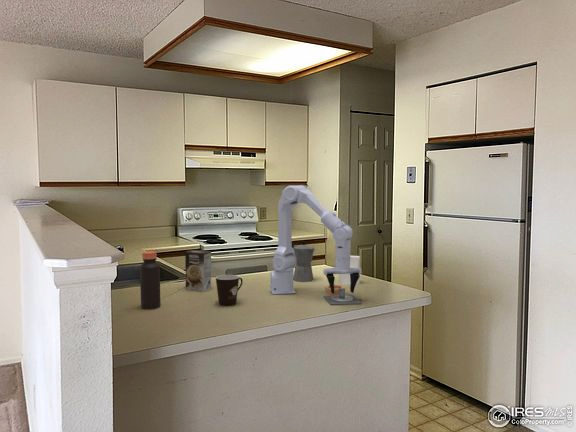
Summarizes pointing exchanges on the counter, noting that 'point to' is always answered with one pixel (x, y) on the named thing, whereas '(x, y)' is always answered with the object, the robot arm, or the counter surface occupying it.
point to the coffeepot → (303, 262)
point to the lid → (342, 296)
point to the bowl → (336, 289)
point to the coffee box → (198, 270)
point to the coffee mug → (227, 289)
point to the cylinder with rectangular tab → (346, 277)
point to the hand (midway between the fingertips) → (342, 292)
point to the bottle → (150, 281)
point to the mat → (331, 302)
